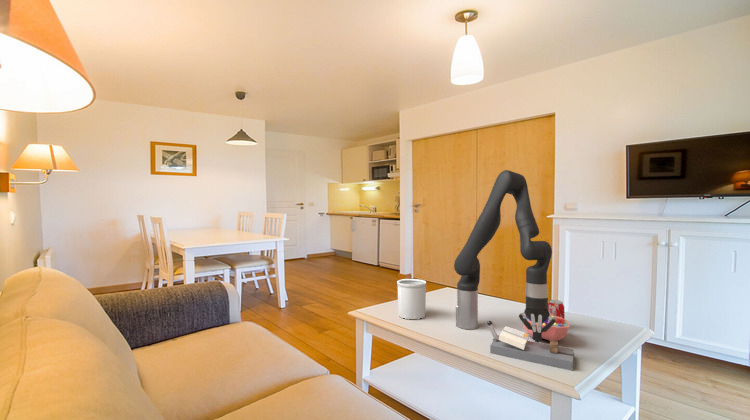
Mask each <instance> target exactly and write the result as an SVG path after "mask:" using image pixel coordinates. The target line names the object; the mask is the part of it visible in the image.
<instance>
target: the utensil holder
mask: <svg viewBox="0 0 750 420" xmlns="http://www.w3.org/2000/svg"><path fill="white" fill-rule="evenodd" d="M396 285H397V311H398V312H397V315H399V316H400V317H399V316H398V317H399V318H401V319H403V318H405V319H404V320H409V319H417V320H421V319H420V318H422V319H424V318H425V317H426V304H427V303H426V302H427V300H426V298H427V297H426V296H427V288H426V287H427V281H426V280H424V279H418V278H403V279H399V280H397V281H396ZM423 317H424V318H423Z"/></svg>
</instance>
